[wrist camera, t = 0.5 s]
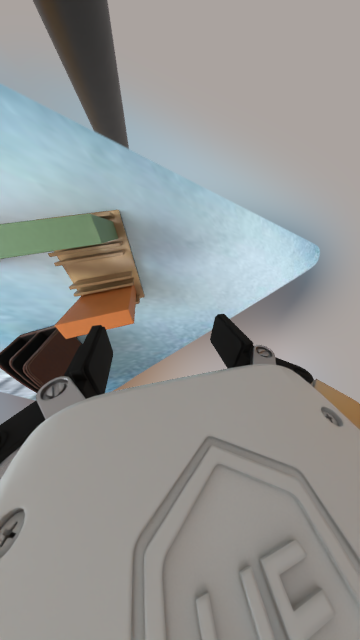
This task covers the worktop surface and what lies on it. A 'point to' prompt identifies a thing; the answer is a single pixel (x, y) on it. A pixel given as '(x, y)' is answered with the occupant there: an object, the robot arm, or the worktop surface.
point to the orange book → (99, 311)
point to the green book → (54, 234)
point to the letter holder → (38, 357)
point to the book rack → (101, 262)
